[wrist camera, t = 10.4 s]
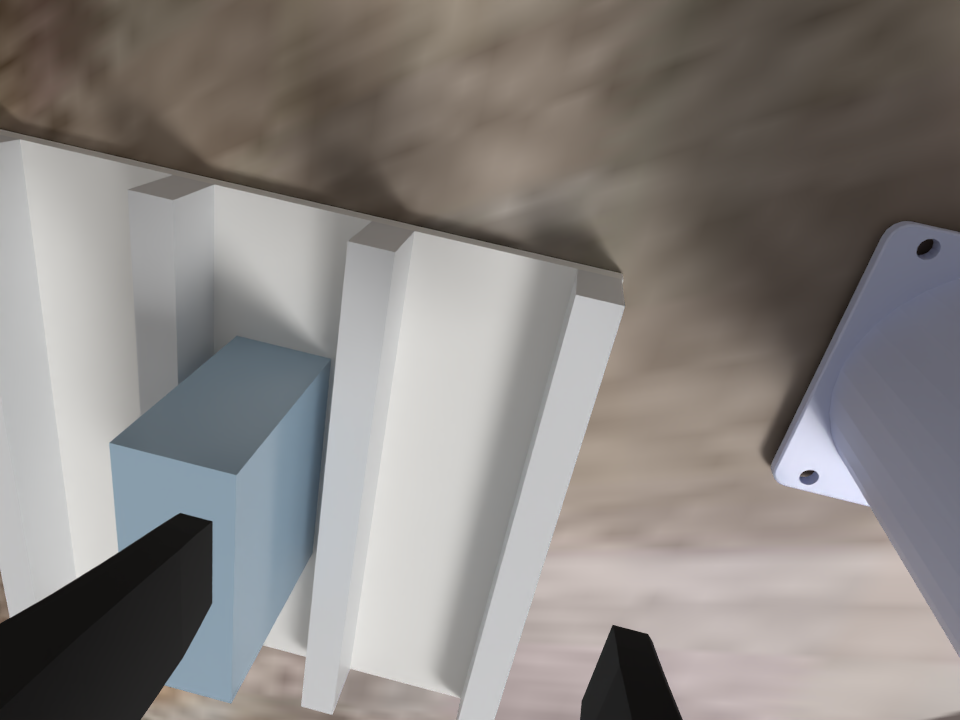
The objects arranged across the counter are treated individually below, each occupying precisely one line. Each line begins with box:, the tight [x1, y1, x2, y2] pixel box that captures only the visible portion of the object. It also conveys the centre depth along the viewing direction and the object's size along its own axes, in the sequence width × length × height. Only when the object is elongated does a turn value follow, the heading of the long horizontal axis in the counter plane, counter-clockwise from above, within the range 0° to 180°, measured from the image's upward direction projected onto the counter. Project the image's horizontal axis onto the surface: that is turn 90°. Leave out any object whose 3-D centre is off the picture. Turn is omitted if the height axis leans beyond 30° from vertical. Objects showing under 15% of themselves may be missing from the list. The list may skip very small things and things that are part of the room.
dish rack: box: [0, 129, 625, 720], centre depth 21 cm, size 18×18×2 cm
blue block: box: [109, 336, 331, 703], centre depth 19 cm, size 3×8×6 cm, turn 169°
